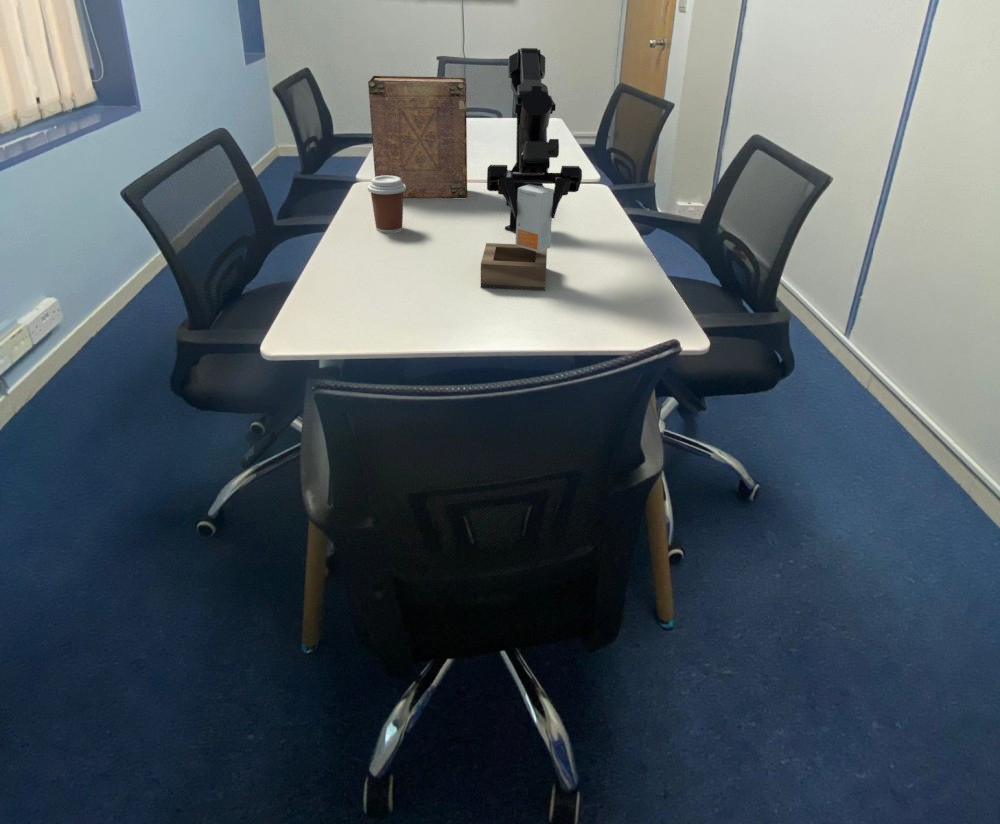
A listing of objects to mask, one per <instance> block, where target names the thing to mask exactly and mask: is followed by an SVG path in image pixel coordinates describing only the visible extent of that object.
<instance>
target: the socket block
mask: <svg viewBox="0 0 1000 824" xmlns="http://www.w3.org/2000/svg"><path fill="white" fill-rule="evenodd" d="M547 254H548V249H546V250H543V251H541V252H539V253H538V252H536V251H532V250H529V249H525V248H522V247H518V246H516V243H515V244H514V243H500V242H499V243H494V242H486V243H485V248H484V251H483V255H482V257H481V262H480V288H481V289H499V290H500V289H501V290H502V289H503V290H520V291H521V290H524V291H543V292H544V291H546V278H547V277H546V276H547V261H548V260H547V258H548V257H547V256H548V255H547Z"/></svg>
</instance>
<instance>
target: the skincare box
mask: <svg viewBox="0 0 1000 824" xmlns="http://www.w3.org/2000/svg"><path fill="white" fill-rule="evenodd" d="M553 192H554V189H553V188H550V187H549V188H548V187H546V186H544V187H542V186H536V185H531V184H528V185H525V186H522V187H519V188H518V195H517V221H516V232H515V244H516V246H518V247H522V248H525V249H529V250H532V251H536V252H538V253H539V252H541V251H543V250H546V249H547V250H548V249H550V247H551V235H552V219H553V218H552V205H553Z"/></svg>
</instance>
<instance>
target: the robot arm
mask: <svg viewBox="0 0 1000 824" xmlns="http://www.w3.org/2000/svg"><path fill="white" fill-rule="evenodd" d="M507 64H508V65H507V79H510V89H511V90H512V92H513V94H514V95H513V114H515V115H516V137H515V138H516V145H515V146H516V150H515V151H516V155H515V156H516V157H515V163H514V165H513V167H512V169H511V170H510V169H508V165H507V164H490V165H489V166H488V167H487V169H486V170H487V171H486V173H487V174H486V175H487V176H486V190H487V191H488V192H497V194H498V195H500V196H501V195H502V196H503V197H504V200H505V205H506V206H505V207H509V208H510V212H509V225H506V226H504V229H505V230H508V231H512V232H515V233H516V221H517V195H518V188H519V187H522V186H525V185H528V184H531V185H536V186H542V187H545V186H544V184H554V189H553V190H554V191H553V205H552V219H554V218H555V217H556V212H557V210H558V206H559V203H560V202H561V200H562V199H563V196H567V195H568V194H569V193H577V192H578V191H579V189H580V186H581V183H582V180H583V170H582V168H581V167H580V165H562V166H561V167H560V171H559V172H549V169H550V165H551V162H550V161H551V160H550V158H551V159H552V158H553V159H554V158H558V157H559V154H560V143H559V141H560V140H559V138H549V140H548V135H547V133H548V130H547V129H548V128H549V123H550V118H551V115H552V114H553V112H555V111H556V103H555V101H554V100H553V97H552V95H549V89H548V86H547V85H546V84H545V83H543V82H542V80H544V79H545V76H546V56H544V55H543V54H542V53H541V49H538V48H537V47H536V48H535V47H534V48H533V47H532V48H531V47H520V48H517V52H515V53H513V54H511V55H509V57H508V62H507Z"/></svg>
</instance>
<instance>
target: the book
mask: <svg viewBox="0 0 1000 824" xmlns="http://www.w3.org/2000/svg"><path fill="white" fill-rule="evenodd" d="M367 84H368V85H367V87H368V100H369V101H368V102H369V114H370V126H371V127H370V128H371V138H372V152H373V153H372V155H373V156H372V157H373V165H374V167H373V168H374V169H373V170H374V177H377V176H386V175H388V176H397V177H399V178H401V182H402V183H403V184H405V186H406V190H405V191H404V192H403V199H453V198H466V199H467V198H468V155H467V154H468V148H467V147H468V146H467V145H468V141H467V140H468V139H467V137H468V135H467V133H468V132H467V83H466V77H464V76H461V77H460V76H412V75H411V76H409V75H408V76H406V75H405V76H404V75H399V76H397V75H373V76H371V77H370V79H369V80H368V81H367Z"/></svg>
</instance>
